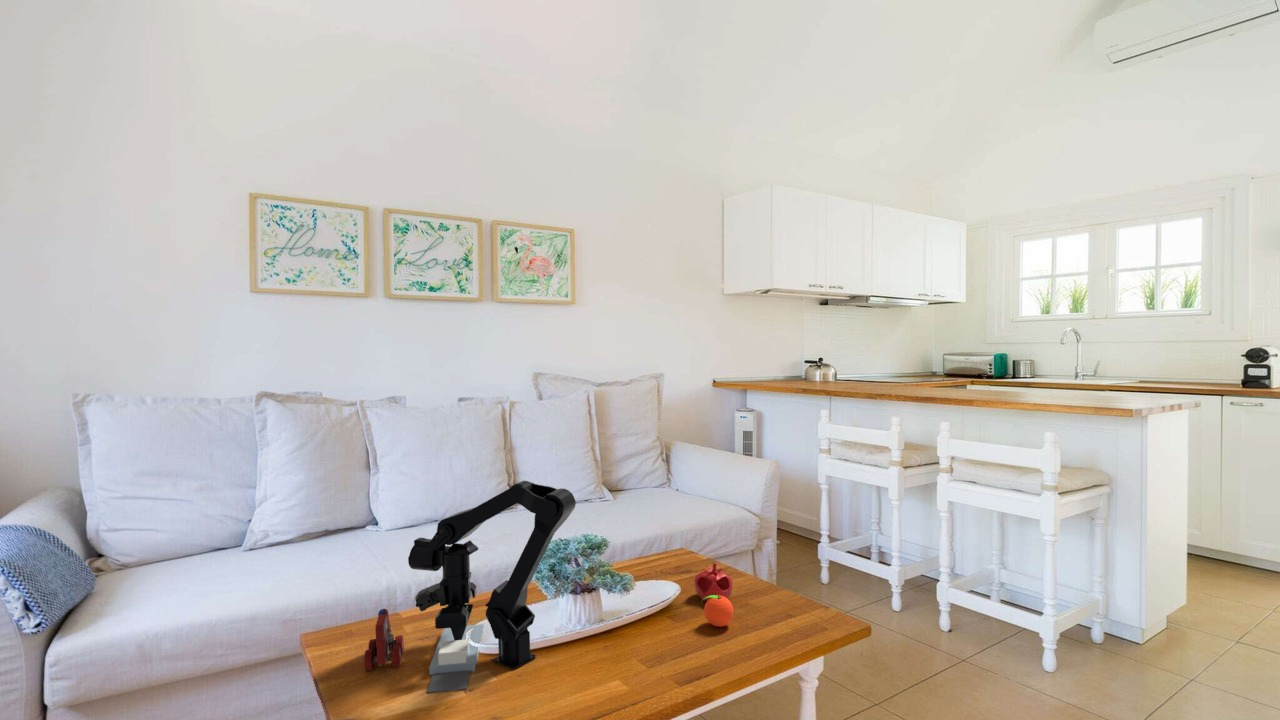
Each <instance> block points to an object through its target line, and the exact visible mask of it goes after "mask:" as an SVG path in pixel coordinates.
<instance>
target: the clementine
mask: <svg viewBox="0 0 1280 720" xmlns="http://www.w3.org/2000/svg"><path fill="white" fill-rule="evenodd" d="M706 598H710V599H708V601H705V604H704V609H703V611H704V616H705V619H706V620H707V621H708V623H709V624H710V625H712V626H714V627H718V628H719V627H720V628H721V627H725V626H727V625H728V624H730V622H731V621H732V619H733V618H734V613H735V611H734V606H733V604H732V602H731V601H730V600H729V598H728V599H727V598H725V597H724V596H721V595H711V596H708V597H706ZM706 598H704V599H706ZM704 599H703V600H702V599H701V602H703V601H704Z"/></svg>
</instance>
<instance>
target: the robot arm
mask: <svg viewBox="0 0 1280 720" xmlns="http://www.w3.org/2000/svg"><path fill="white" fill-rule="evenodd" d="M517 504H518V505H521V506H522V507H524V508H525V510H527V511H529V512H530V513H533V514H534V522H533V523H534V527H533V529H532V531H531V534H530V536H529V538H528V540H527V542H526V544H525V546H524V548H523V550H522V552H521V554H520V556H519V558H518V561H517V563H516V564H515V567H514V569H513V570H512V572H511V574H510V577H509V579H506V580H505V581H503V582H502V583H501V584H499V585H498V586H497V587H495V588H494V589H493V590H492V592H491V595H490V598H489V600H488V602H486V603H485V605H484V606H485V607H487V608H486V611H485V617H486V619H487V621H488V623H489V625H490V628H491V631H492V634H493V636H494V639H497V640H498V641H497V642H498V643H497V644H498V656H497V657H494V659H493V662H494V663H496V664H499V665H501V666H504V667H506V668H509V669H510V670H516V669H518V668H520V667H522V666H523V665H526V664H527V663H529V662H530V661H533V660H535V659H536V657H537V655H536V654H534V653H531V637H530V636H531V634H530V633H531V632H530V631H529V627H530V626H532V625H533V624H534V620H535V618H536V615H535V614H534V612H533V611H532V610H531V609H530V607H528V605H526V603H527V600H528V590H529V588H528V587H529V585H530V584H531V582H532V580H533V577H534V575H535V573H536V572H537V569H538V567H539V565H540V563H541V561H542V560H543V557H544V555H545V553H546V552H547V549H548V547H549V545H550V543H551V541H552V539H553V538H554V536H555V533H556V532H557V531H558V530H559V528H561V526H562V525H563V524H564V523H565V522H566V521H567V520H568V518H569V517H570V515H571V514H572V512H573V511H574V510H575V508H576V505H577V501H576V498H575V496H574V494H573V493H572V492H571V491H570V490H569V489H566V488H555V487H553V486H548V485H542V484H537V483H534V482H532V481H529V480H522V481H518V482H517V483H514V484H512V485H511V486H510V487H509V488H508V489H506V490H504V491H502V492H500V493H499V494H497V495H495V496H493V497H491V498H489V499H488V500H486V501H484V502H483V503H481V504H479V505H477V506H475V507H474V508H468V509H466V510H463V511H458V512H457V513H455V514H452V515H450V516H448V517H445V518H443V519H441V520H440V521H438V523H437V528H436V532H435V534H434V536H433V537H432V538H425V537H418V538H416V539H414V541H413V546H412V548H411V549H410V551H409V555H408V558H407V561H408V562H407V563H408V566H409V567H410V568H411V569H412V570H417V571H418V570H419V571H429V572H431V571H432V572H437V571H439V570H441V568H442V579H441V580H440V581H439V582H438V583H435V584H433V585H431V586H427V587H425V588H423V589H421V590H419V591H418V592H417V594H416V595H415V597H414V600H415V607H416V608H419V611H420V612H424V611H426V610H427V609H428V608H431V607H434V606H436V605H438V604H439V607H442V608H441V609H440V610H439V611H438V612H437V614H436V617H435V619H434V624H435V626H434V627H435V629H438V630H439V629H443V630H444V628H451V631H452V634H453V637H454V640H462V638H463V635H464V632H465V629H466V626H468V623H469V620H470V616H471V614H472V610H473V607H474V604H471V603H470V602H471V598H472V599H475V598H476V597H477V594H478V593H477V591H478V590H477V585H476V583H474V582H471V580H472V571H471V565H470V564H471V562H470V561H471V560H470V555H473V553H476V552H477V551H478V550H479V547H478V546H477V545H476V544H474V542H472V540H467V541H465V542H464V543H458V542H460V541H462V540H465V539H466V538H468V537H469V536H470V535H472V534H473V533H474V532H475V531H477V530H478V529H479V527H481V526H482V525H483V524H484V523H485V522H486V521H488V520H490V519H492V518H494V517H495V516H497V515H499V514H501V513H502V512H504V511H506V510H509V509H510V508H511V507H514V506H515V505H517ZM444 606H445V607H444Z"/></svg>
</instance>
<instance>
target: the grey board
mask: <svg viewBox="0 0 1280 720" xmlns="http://www.w3.org/2000/svg"><path fill="white" fill-rule="evenodd" d="M472 628H473V630H472V631H471V634H470V636H471V637H470V639H471V640H472V641H473V642H475V643H478V644H479V643H480V642H481V637H482V633H483V628H484V629H485V624H484V623H482V624H470V625H468V624H467V626H466V629H465V632H464V635H463V638H462V640H466V633H467V632H468V631H469V630H471V629H472ZM483 634H484V633H483ZM482 638H483V637H482ZM443 641H455V640H454V637H453V634H452V631H451V628H443V630H442V632H441V635H440V637H439V641H438V643H437V646H436V649H435V650H434V651H435V652H434V654H433V657H432V659H431V663H430V665H429V667H428V668H429V675H430V676H432V675H433V674H436V673H447V672H458V671H469V670H471V672H474V671H476V668H477V663H478V658H479V653H480V650H479V651H478V647H475V646H472V645H471V644H470V643H469V654H468V658H467V661H466V663H457V664H446V665H439V658H438V653H439V650H440V648H441V645H442V642H443ZM481 643H482V642H481Z"/></svg>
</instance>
